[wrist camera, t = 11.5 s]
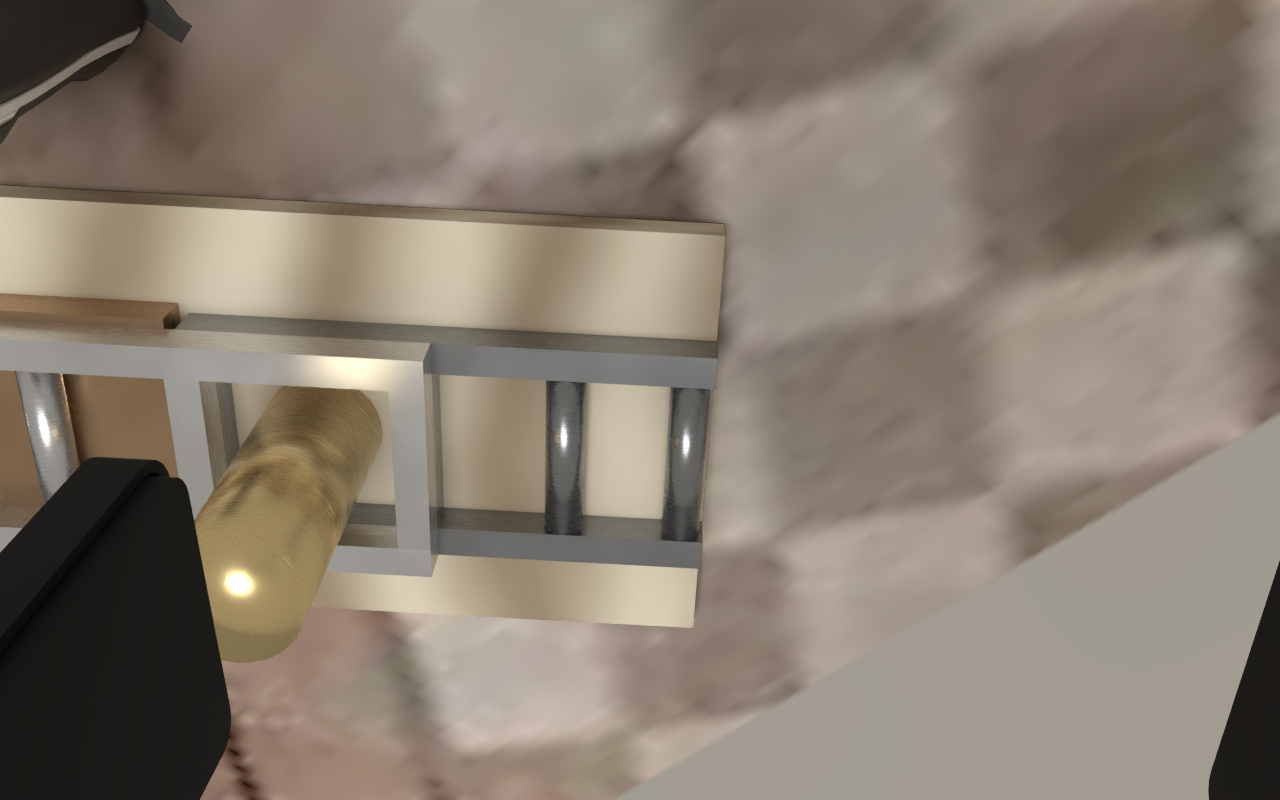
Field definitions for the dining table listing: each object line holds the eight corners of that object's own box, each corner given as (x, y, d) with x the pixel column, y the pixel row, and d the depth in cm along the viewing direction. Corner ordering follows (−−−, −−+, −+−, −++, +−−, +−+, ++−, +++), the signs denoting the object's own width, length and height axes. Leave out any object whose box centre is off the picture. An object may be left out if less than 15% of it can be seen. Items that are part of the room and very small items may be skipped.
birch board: (724, 223, 35) (725, 235, 34) (692, 609, 42) (692, 627, 41) (-97, 180, 35) (-117, 190, 35) (-1, 571, 42) (-16, 589, 41)
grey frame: (716, 341, 36) (717, 358, 35) (699, 547, 39) (700, 568, 38) (189, 312, 36) (174, 329, 35) (218, 520, 40) (205, 541, 38)
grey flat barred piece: (437, 316, 36) (422, 351, 34) (445, 540, 40) (432, 585, 38) (-92, 288, 36) (-140, 321, 34) (-34, 514, 40) (-75, 557, 38)
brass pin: (378, 378, 37) (296, 548, 29) (385, 479, 39) (309, 666, 31) (261, 372, 37) (146, 540, 29) (272, 473, 39) (166, 658, 31)
